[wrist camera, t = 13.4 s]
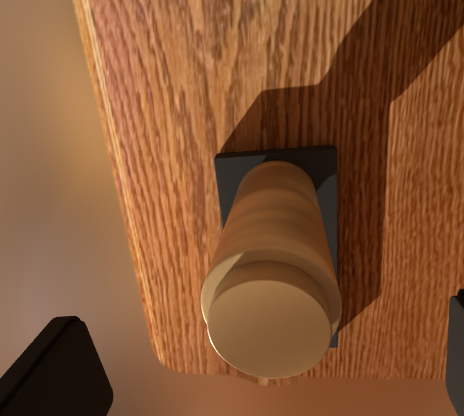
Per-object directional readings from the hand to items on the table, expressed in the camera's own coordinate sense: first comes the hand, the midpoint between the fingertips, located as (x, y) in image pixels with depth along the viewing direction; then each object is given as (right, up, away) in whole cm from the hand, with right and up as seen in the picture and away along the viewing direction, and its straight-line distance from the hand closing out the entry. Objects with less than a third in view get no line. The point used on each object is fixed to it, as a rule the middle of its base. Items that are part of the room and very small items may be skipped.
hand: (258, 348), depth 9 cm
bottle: (+2, +5, +12) cm, 13 cm away
